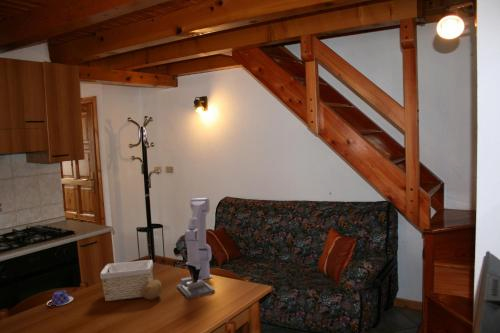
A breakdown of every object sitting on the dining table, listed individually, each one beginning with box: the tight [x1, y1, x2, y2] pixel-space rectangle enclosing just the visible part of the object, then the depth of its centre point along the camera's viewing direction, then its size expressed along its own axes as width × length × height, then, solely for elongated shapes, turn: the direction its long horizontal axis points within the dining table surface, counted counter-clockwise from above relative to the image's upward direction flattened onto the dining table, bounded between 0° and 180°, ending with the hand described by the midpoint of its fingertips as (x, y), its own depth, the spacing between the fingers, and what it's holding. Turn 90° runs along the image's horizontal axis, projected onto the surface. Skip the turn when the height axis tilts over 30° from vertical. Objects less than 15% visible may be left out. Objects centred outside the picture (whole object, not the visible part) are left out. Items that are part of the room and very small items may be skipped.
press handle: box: [187, 275, 204, 289], centre depth 203 cm, size 3×8×8 cm, turn 116°
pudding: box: [46, 289, 74, 307], centre depth 197 cm, size 12×12×5 cm
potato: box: [141, 279, 163, 300], centre depth 196 cm, size 10×14×8 cm
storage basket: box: [100, 259, 154, 302], centre depth 202 cm, size 24×16×15 cm
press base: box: [176, 275, 216, 300], centre depth 203 cm, size 18×14×4 cm
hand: (194, 279), depth 203 cm, fingers closed on press handle, 3 cm apart
